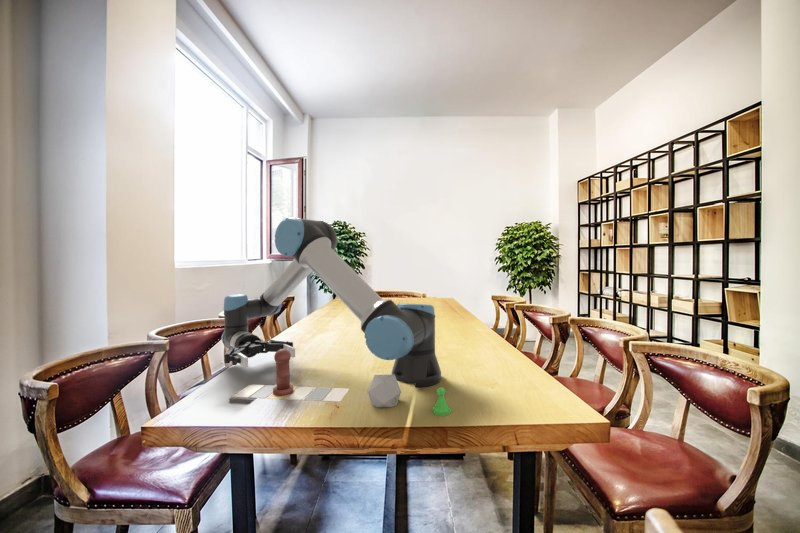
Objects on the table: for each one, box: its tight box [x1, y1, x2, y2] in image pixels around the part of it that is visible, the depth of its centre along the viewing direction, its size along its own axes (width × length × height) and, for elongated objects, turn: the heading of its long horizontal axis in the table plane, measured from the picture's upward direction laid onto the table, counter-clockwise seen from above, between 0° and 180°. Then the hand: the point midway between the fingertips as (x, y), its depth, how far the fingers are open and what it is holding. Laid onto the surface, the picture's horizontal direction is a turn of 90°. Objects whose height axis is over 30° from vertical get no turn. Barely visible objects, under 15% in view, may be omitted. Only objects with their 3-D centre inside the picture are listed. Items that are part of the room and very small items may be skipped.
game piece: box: [431, 386, 451, 416], centre depth 82 cm, size 4×4×6 cm
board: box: [228, 383, 350, 404], centre depth 92 cm, size 30×10×1 cm, turn 82°
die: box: [367, 374, 402, 408], centre depth 85 cm, size 8×9×10 cm
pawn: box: [272, 349, 294, 396], centre depth 92 cm, size 5×5×12 cm
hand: (271, 357), depth 97 cm, fingers open, 13 cm apart
